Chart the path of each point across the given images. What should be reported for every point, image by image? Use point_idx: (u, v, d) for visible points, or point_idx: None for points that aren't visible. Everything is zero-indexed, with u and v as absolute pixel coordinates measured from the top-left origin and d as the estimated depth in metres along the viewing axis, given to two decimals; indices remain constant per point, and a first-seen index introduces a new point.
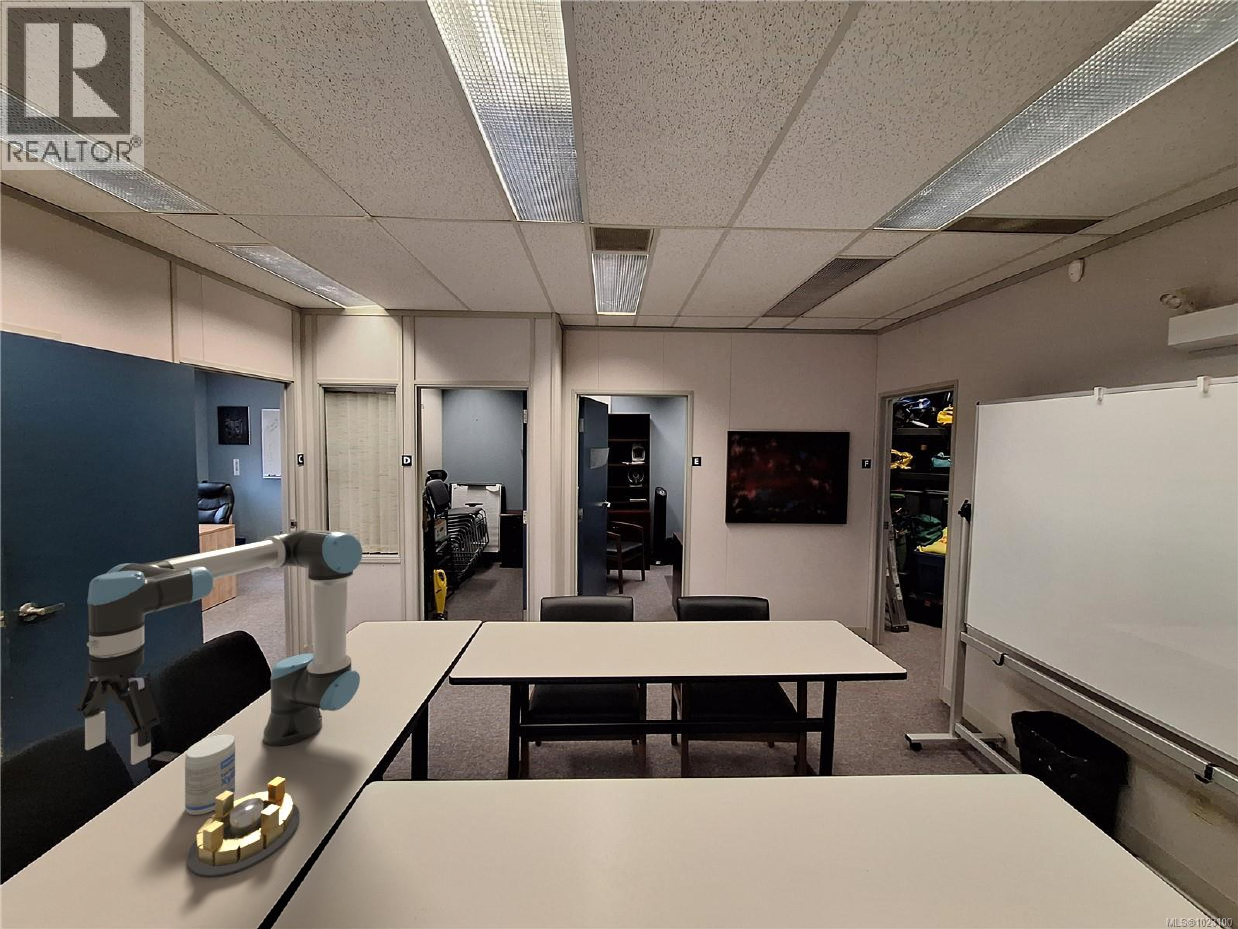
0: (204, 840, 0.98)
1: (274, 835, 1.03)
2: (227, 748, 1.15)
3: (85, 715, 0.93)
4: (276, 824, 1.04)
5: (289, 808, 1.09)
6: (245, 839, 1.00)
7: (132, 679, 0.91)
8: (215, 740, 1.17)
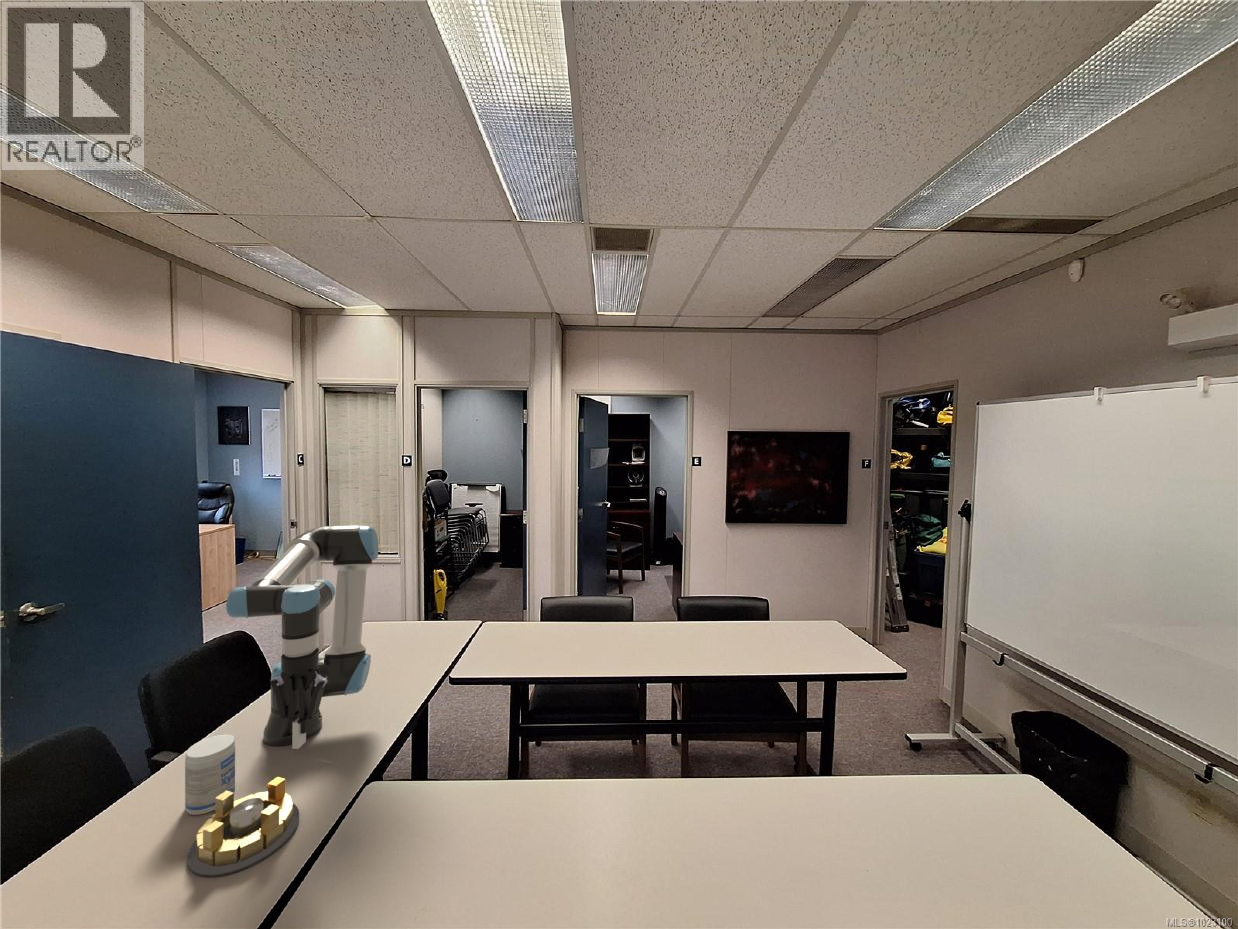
0: (204, 840, 0.98)
1: (274, 835, 1.03)
2: (227, 748, 1.15)
3: None
4: (276, 824, 1.04)
5: (289, 808, 1.09)
6: (245, 839, 1.00)
7: (281, 675, 1.11)
8: (215, 740, 1.17)
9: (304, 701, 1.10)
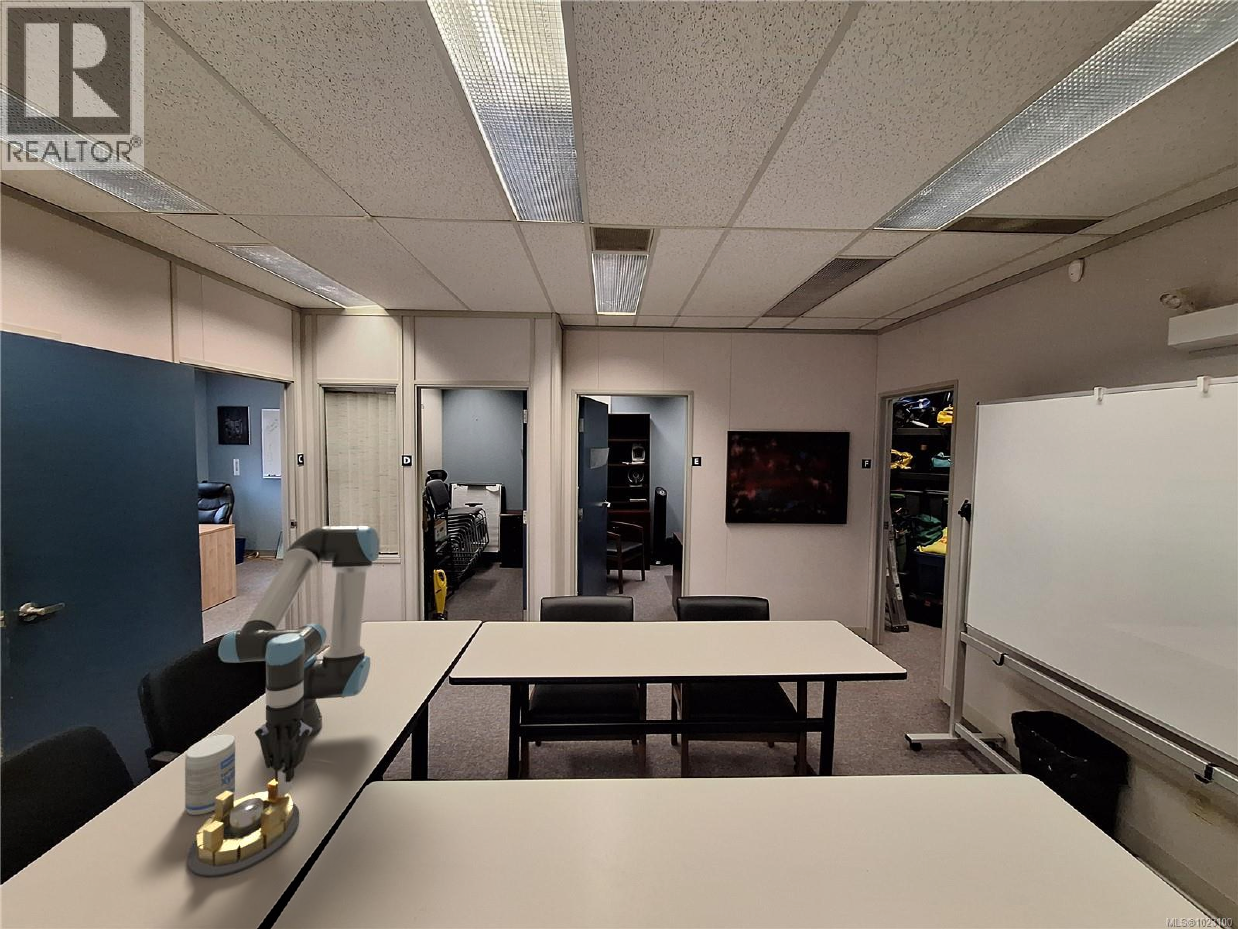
0: (204, 840, 0.98)
1: (274, 835, 1.04)
2: (227, 748, 1.15)
3: None
4: (276, 824, 1.04)
5: (289, 808, 1.09)
6: (245, 839, 1.00)
7: None
8: (215, 740, 1.17)
9: (289, 750, 1.11)
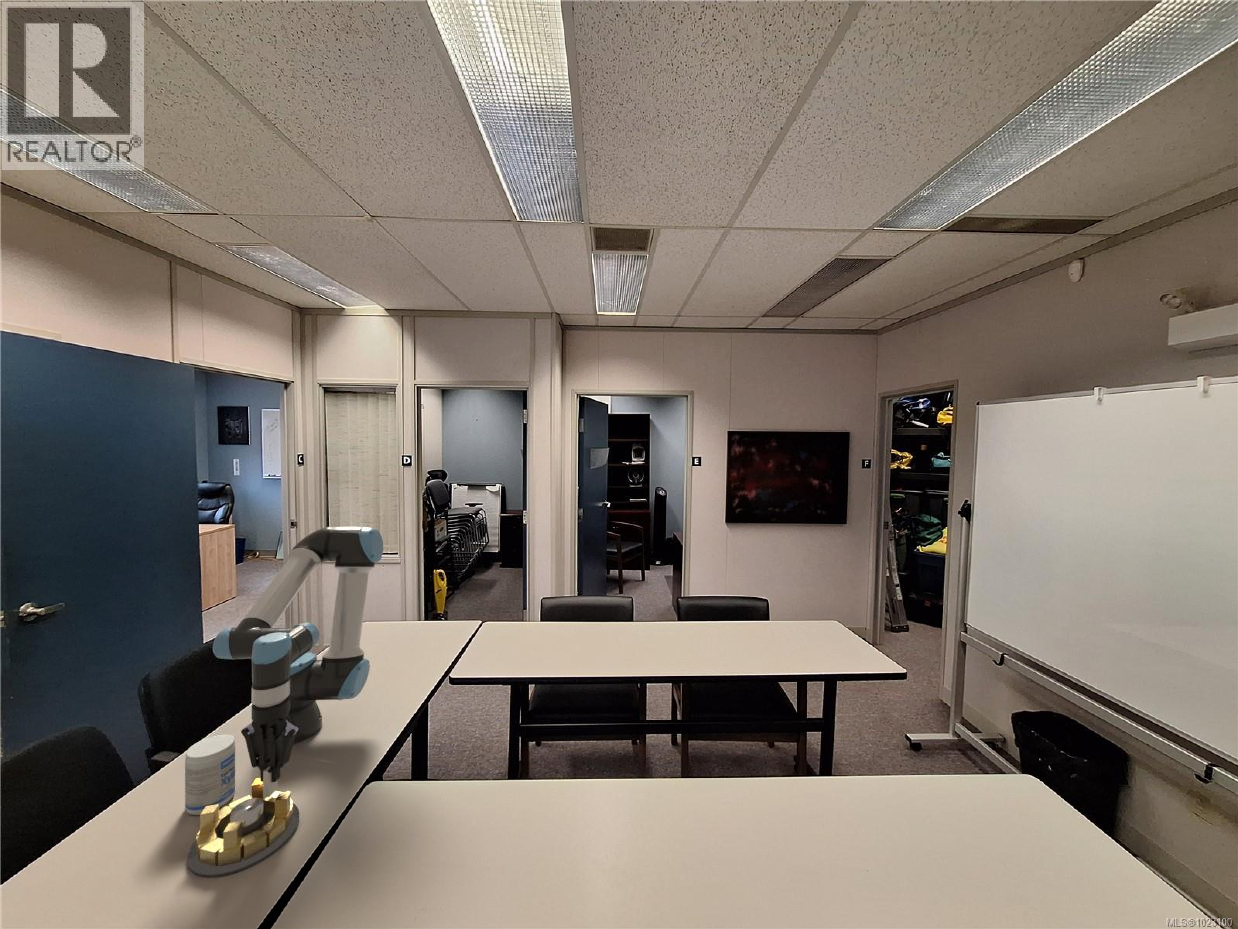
0: (225, 842, 0.98)
1: (289, 817, 1.08)
2: (227, 748, 1.15)
3: None
4: (289, 807, 1.09)
5: None
6: (267, 827, 1.04)
7: None
8: (215, 740, 1.17)
9: (275, 750, 1.11)
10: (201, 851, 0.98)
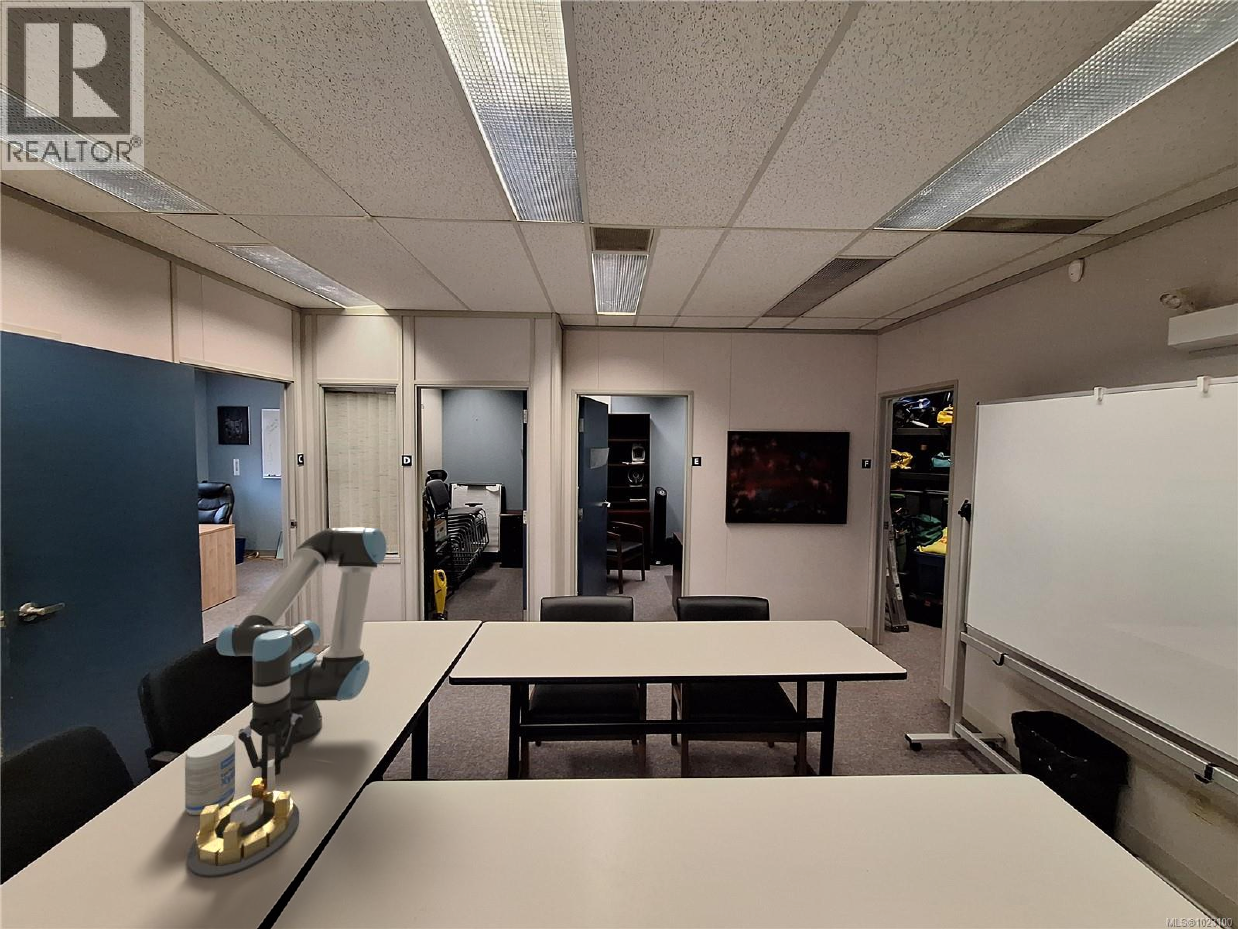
0: (225, 842, 0.98)
1: (289, 817, 1.08)
2: (227, 748, 1.15)
3: None
4: (289, 807, 1.09)
5: None
6: (267, 827, 1.04)
7: (247, 727, 1.10)
8: (215, 740, 1.17)
9: (280, 742, 1.14)
10: (201, 851, 0.98)
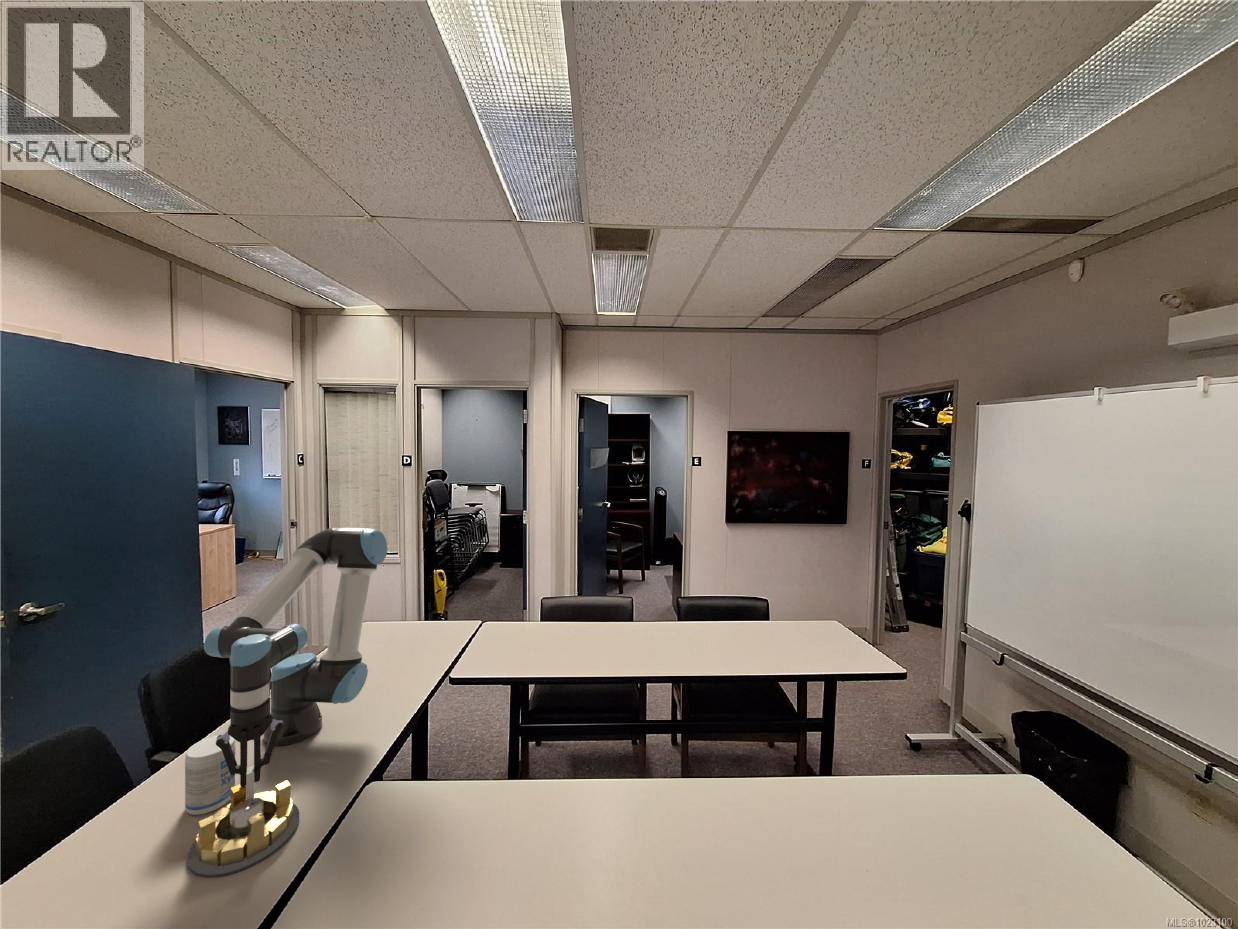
0: (253, 833, 1.00)
1: None
2: None
3: None
4: None
5: (272, 792, 1.14)
6: (280, 814, 1.07)
7: (225, 733, 1.08)
8: (215, 740, 1.17)
9: (260, 748, 1.11)
10: (222, 854, 0.97)
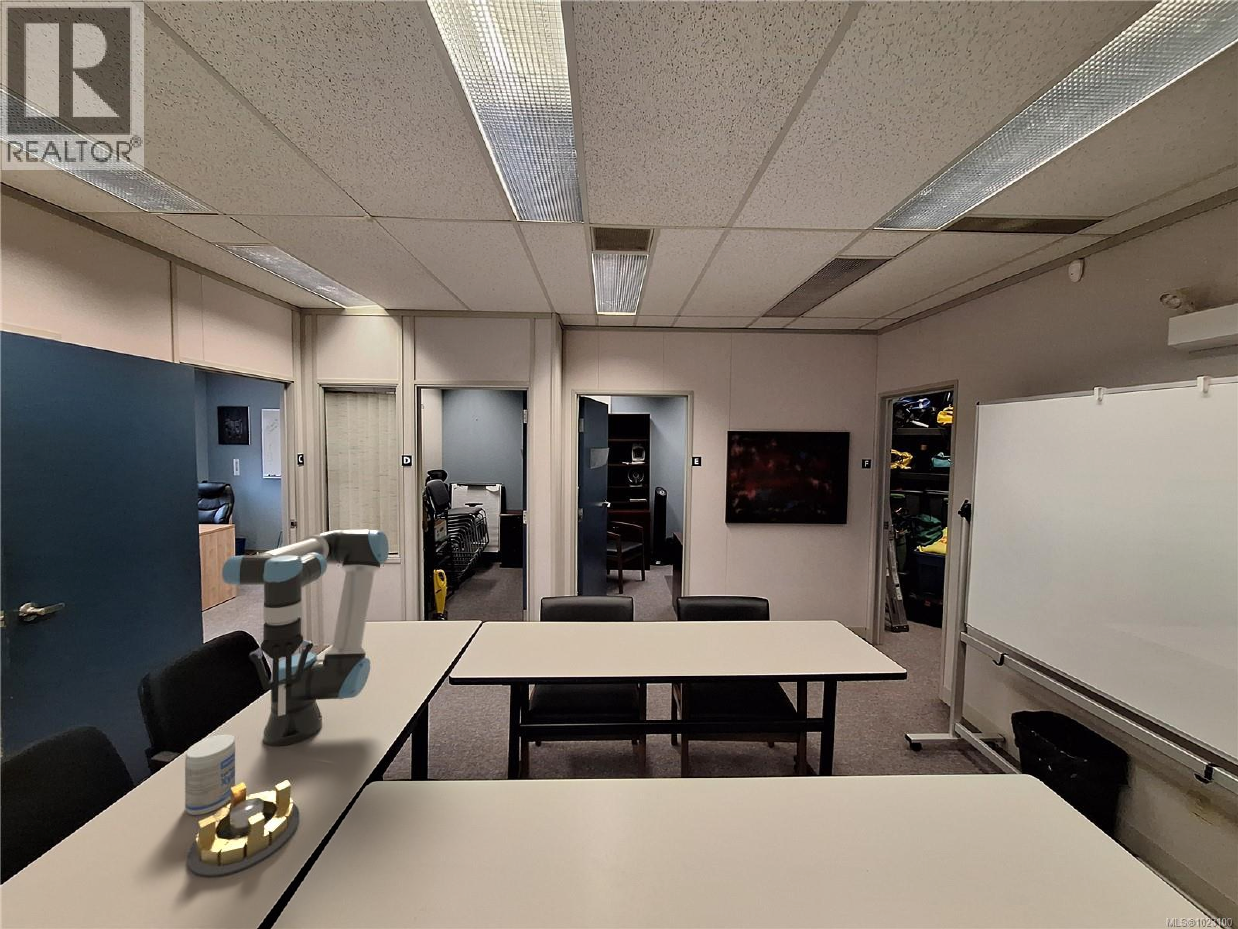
0: (253, 833, 1.00)
1: None
2: (227, 748, 1.15)
3: None
4: None
5: (272, 792, 1.14)
6: (280, 814, 1.07)
7: (258, 648, 1.10)
8: (215, 740, 1.17)
9: (291, 666, 1.14)
10: (222, 854, 0.97)
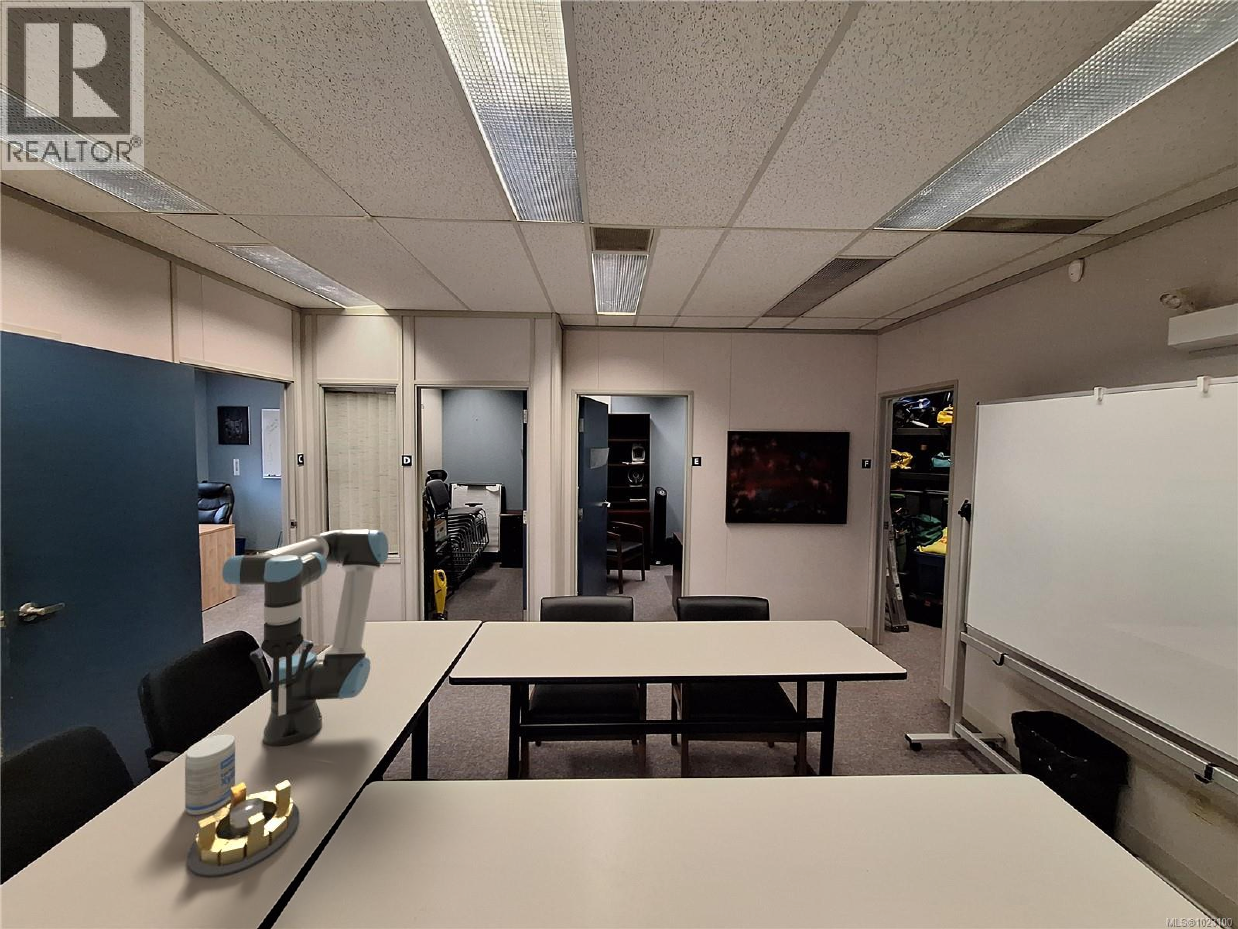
0: (253, 833, 1.00)
1: None
2: (227, 748, 1.15)
3: None
4: None
5: (272, 792, 1.14)
6: (280, 814, 1.07)
7: None
8: (215, 740, 1.17)
9: (291, 666, 1.14)
10: (222, 854, 0.97)
